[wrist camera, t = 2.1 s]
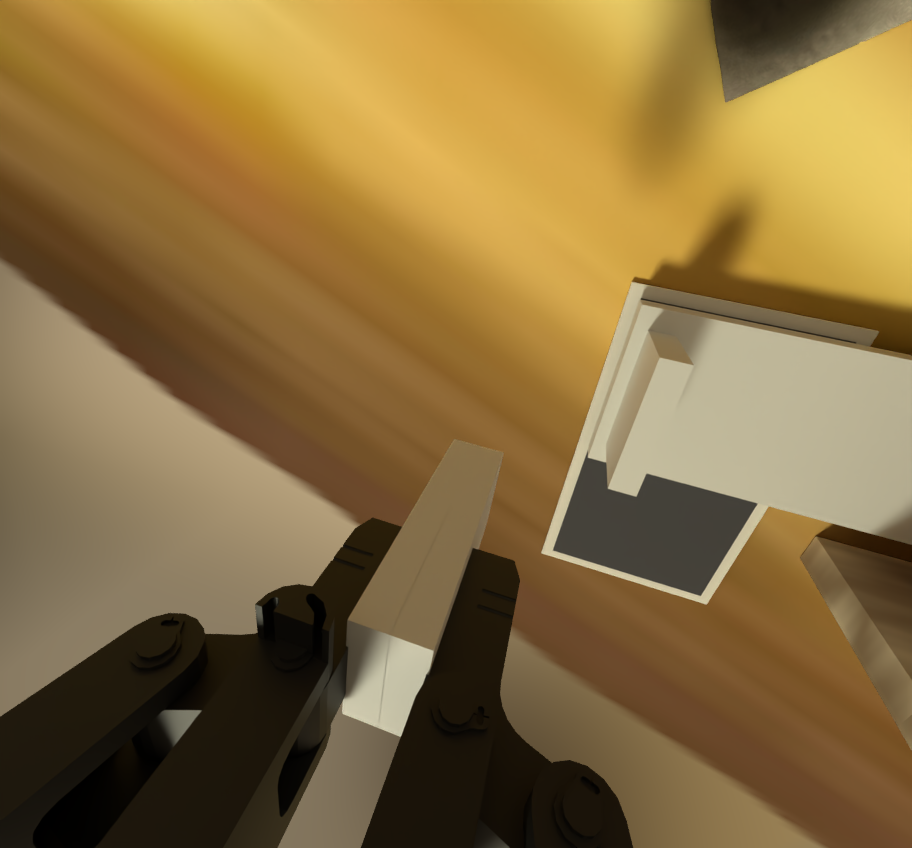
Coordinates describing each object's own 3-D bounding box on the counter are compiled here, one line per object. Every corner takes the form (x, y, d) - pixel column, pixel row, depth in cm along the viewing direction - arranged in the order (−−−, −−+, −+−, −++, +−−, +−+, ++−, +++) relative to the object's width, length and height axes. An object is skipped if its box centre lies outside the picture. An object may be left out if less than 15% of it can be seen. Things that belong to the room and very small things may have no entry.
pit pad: (631, 281, 20) (632, 282, 20) (876, 330, 19) (881, 332, 18) (541, 551, 29) (541, 554, 28) (705, 601, 27) (707, 605, 27)
